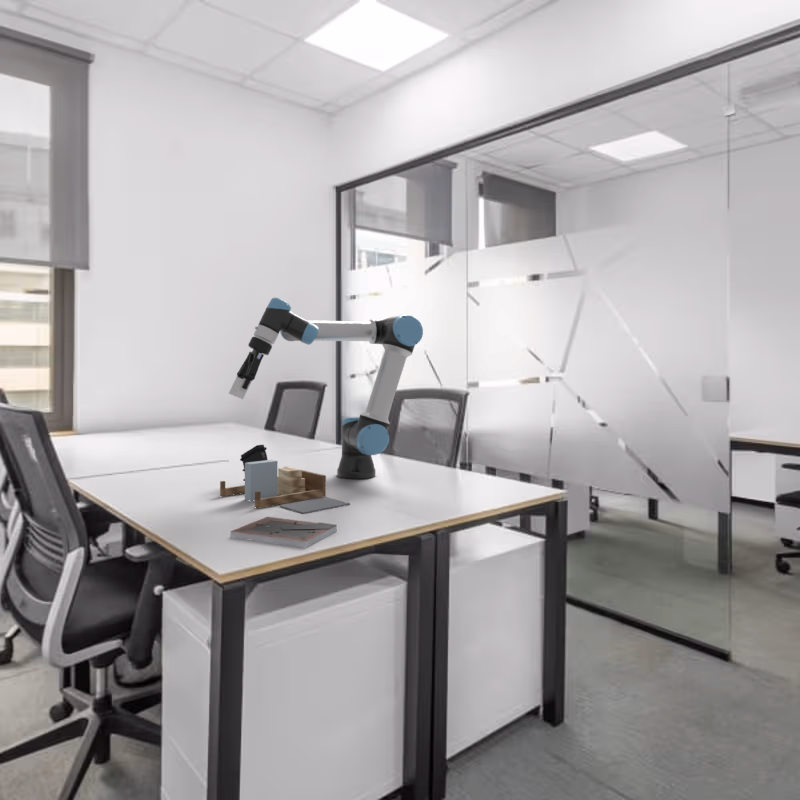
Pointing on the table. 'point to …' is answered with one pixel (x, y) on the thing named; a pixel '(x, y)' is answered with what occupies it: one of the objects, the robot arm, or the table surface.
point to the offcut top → (290, 473)
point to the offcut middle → (290, 483)
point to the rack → (313, 489)
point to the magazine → (254, 455)
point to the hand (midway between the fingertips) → (235, 396)
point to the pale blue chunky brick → (261, 479)
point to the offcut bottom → (289, 491)
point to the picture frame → (285, 531)
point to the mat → (314, 505)
